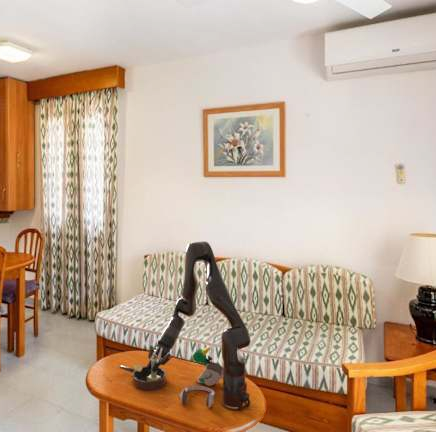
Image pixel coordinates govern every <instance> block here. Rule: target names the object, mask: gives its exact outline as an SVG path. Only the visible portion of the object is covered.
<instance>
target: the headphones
mask: <svg viewBox="0 0 436 432" xmlns="http://www.w3.org/2000/svg"><path fill="white" fill-rule="evenodd" d="M194 390H200V391H205V392H208V394H207V395H206V399H205V405H206V407H207V408H208V409H209V408H211V407H212V405H214V402H215V400H214V398H215V393H216V391H215V390H213V389H212V388H210V387H209V386H204V385H190V386H187V387H185V388H184V389H182V391H181V392H180V394H179V401H180V403H181V405H184V404H186V402H187V399H188V391H194ZM169 401H170V402H171V401H172V398H171V399H170V400H169Z"/></svg>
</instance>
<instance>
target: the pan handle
mask: <svg viewBox="0 0 436 432" xmlns="http://www.w3.org/2000/svg"><path fill="white" fill-rule="evenodd" d="M119 369H121V370H124V371H126V372H129V373H132V374H133V372H134V371H135V369H134V368H131V367H129V366H125V365H123V364H120V365H119Z"/></svg>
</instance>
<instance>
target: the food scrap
mask: <svg viewBox="0 0 436 432" xmlns="http://www.w3.org/2000/svg"><path fill="white" fill-rule="evenodd" d="M142 367H143V366H142V365H141V364H140V363H136V364H134V366H133V369H135V371H137V372H141V371H142Z"/></svg>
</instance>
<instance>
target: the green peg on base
mask: <svg viewBox="0 0 436 432" xmlns="http://www.w3.org/2000/svg"><path fill="white" fill-rule="evenodd" d="M156 361H157V359H154V358H153V359H152V360H151V375H149V376H148V377H147V382H150V381H157V380H159V379H161V376H158V375H157V371H155V372H153V371H152V368H153V366H154V364H155V363H156Z"/></svg>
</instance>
